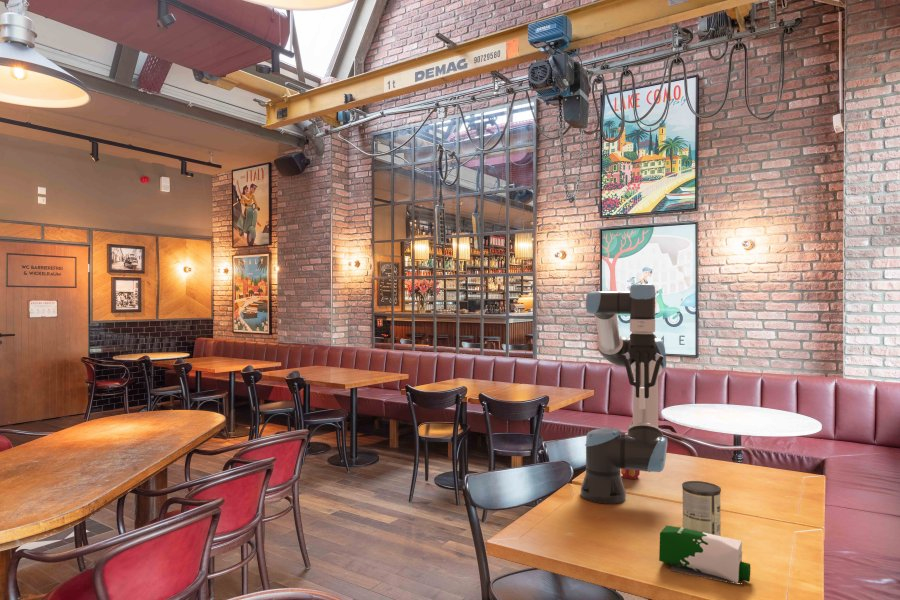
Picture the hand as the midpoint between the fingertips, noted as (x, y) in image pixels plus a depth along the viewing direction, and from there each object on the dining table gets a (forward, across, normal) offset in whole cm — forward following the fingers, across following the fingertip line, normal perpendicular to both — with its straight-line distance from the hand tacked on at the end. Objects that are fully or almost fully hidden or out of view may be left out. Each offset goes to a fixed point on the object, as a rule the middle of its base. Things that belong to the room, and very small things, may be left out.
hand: (642, 408), depth 173 cm
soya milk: (+30, +8, -28) cm, 42 cm away
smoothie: (+35, -10, +43) cm, 56 cm away
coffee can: (+35, +17, -5) cm, 39 cm away
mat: (+34, +19, -27) cm, 48 cm away
